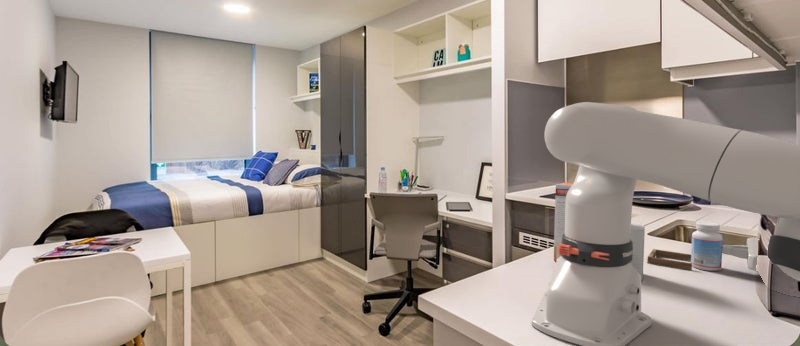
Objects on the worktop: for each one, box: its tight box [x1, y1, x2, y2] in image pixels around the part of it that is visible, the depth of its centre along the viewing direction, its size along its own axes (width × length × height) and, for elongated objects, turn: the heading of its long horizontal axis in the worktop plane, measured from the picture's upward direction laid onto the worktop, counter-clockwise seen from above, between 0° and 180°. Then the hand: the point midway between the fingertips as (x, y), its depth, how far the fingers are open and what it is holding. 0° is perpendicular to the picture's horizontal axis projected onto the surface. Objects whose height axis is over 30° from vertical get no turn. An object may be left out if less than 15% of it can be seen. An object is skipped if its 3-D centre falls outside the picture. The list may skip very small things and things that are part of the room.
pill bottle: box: [690, 221, 724, 272], centre depth 99 cm, size 6×6×11 cm
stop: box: [647, 248, 693, 271], centre depth 104 cm, size 10×9×2 cm
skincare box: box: [630, 223, 646, 282], centre depth 93 cm, size 6×4×12 cm
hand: (722, 249), depth 97 cm, fingers closed
